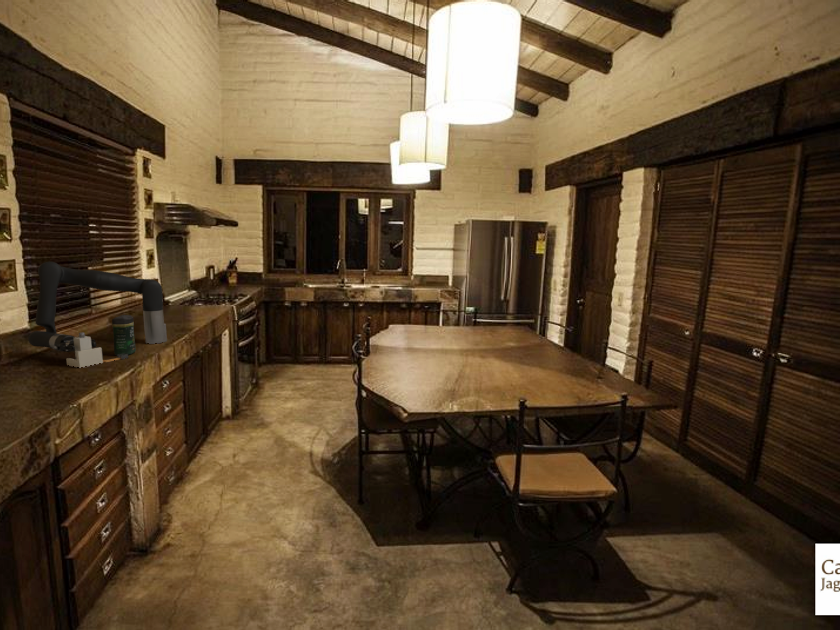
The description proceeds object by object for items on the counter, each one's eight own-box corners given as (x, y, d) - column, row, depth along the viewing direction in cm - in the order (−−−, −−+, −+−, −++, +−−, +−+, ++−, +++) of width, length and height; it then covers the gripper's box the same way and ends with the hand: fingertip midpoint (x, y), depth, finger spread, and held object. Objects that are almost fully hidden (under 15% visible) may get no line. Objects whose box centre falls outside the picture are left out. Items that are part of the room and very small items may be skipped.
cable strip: (114, 357, 220) (114, 356, 220) (121, 359, 218) (121, 357, 218) (92, 362, 212) (92, 361, 212) (99, 363, 209) (99, 362, 209)
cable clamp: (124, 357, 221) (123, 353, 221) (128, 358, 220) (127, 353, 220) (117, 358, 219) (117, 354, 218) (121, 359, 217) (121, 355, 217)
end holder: (90, 360, 215) (88, 345, 214) (102, 363, 211) (101, 347, 210) (67, 365, 207) (65, 349, 206) (79, 368, 203) (78, 352, 201)
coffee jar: (130, 356, 224) (127, 317, 221) (112, 356, 223) (108, 317, 220) (138, 351, 233) (135, 313, 230) (121, 351, 232) (117, 314, 229)
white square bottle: (87, 362, 212) (84, 331, 210) (93, 363, 210) (90, 332, 208) (76, 364, 208) (73, 333, 206) (82, 365, 206) (79, 334, 204)
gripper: (44, 337, 207) (65, 341, 200) (79, 331, 220) (100, 335, 213) (46, 354, 208) (67, 358, 201) (81, 347, 221) (102, 351, 214)
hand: (84, 346), depth 207 cm, fingers open, 8 cm apart
